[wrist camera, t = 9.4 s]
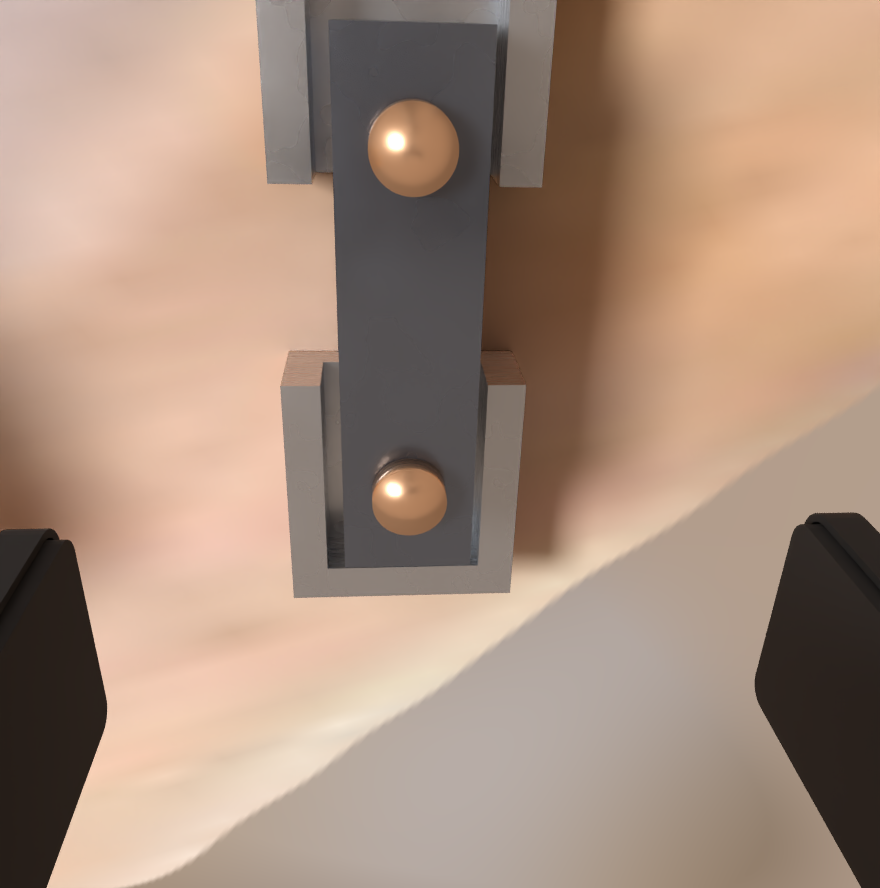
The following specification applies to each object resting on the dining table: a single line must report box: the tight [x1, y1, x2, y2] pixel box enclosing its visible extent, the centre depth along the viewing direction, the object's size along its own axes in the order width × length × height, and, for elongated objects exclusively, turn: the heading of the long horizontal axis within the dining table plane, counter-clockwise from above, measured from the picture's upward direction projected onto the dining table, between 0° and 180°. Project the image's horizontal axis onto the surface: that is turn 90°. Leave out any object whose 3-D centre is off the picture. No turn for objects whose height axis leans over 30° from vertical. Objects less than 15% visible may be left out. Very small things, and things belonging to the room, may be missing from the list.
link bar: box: [328, 19, 498, 567], centre depth 23 cm, size 14×4×7 cm, turn 179°
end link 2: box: [280, 351, 526, 598], centre depth 29 cm, size 8×8×3 cm
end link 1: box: [256, 0, 557, 188], centre depth 23 cm, size 8×8×3 cm
